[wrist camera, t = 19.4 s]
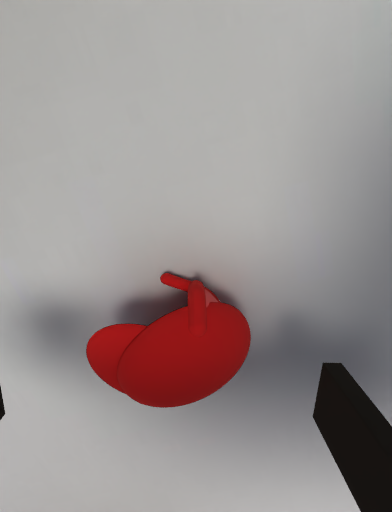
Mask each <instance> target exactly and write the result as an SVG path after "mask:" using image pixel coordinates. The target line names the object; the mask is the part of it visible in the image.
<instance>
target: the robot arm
mask: <svg viewBox="0 0 392 512" xmlns="http://www.w3.org/2000/svg"><path fill="white" fill-rule="evenodd" d="M4 415H5V410H4V404H3V399H2V393H1V387H0V420H1V419H2V417H3V416H4ZM313 418H314V420H315V422H316V424H317V426H318V428H319V430H320V432H321V434H322V436H323V438H324V440H325V442H326V444H327V446H328V448H329V450H330V452H331V454H332V456H333V458H334V460H335V462H336V464H337V466H338V467H339V469H340V471H341V473H342V475H343V477H344V479H345V481H346V483H347V485H348V487H349V489H350V491H351V493H352V495H353V497H354V499H355V501H356V503H357V505H358V507H359V509H360V511H361V512H392V426H391V425H390V424H389V422H388V421H387V420H386V419H385V417H384V416H383V415H382V414H381V412H380V411H379V410H378V409H377V407H376V406H375V405H374V404H373V402H372V401H371V400H370V399H369V397H368V396H367V395H366V394H365V392H364V391H363V390H362V389H361V387H360V386H359V385H358V384H357V382H356V381H355V380H354V378H353V377H352V376H351V375H350V373H349V372H348V371H347V370H346V368H345V367H344V366H343V365H342V363H323V365H322V370H321V376H320V381H319V386H318V392H317V397H316V402H315V408H314V413H313Z"/></svg>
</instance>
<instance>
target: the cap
mask: <svg viewBox="0 0 392 512" xmlns="http://www.w3.org/2000/svg"><path fill="white" fill-rule="evenodd" d="M160 280H161V282H162V283H163V284H166V285H168V286H171V287H174V288H177V289H180V290H183V291H186V292H188V306H186V307H182V308H180V309H177V310H175V311H172V312H170V313H168V314H166V315H164V316H163V317H161V318H159V319H157V320H156V321H154V322H153V323H151V324H150V325H149V326H145V325H139V324H116V325H111V326H108V327H105V328H102V329H100V330H99V331H97V332H96V333H95V334H93V335H92V337H91V338H90V339H89V341H88V344H87V349H86V353H87V358H88V361H89V364H90V365H91V367H92V369H93V370H94V371H95V373H96V374H97V375H98V376H99V377H100V378H101V379H102V380H103V381H105V382H106V383H107V384H109V385H110V386H112V387H113V388H115V389H117V390H118V391H120V392H122V393H125V394H127V395H128V396H129V397H131V398H132V399H133V400H135V401H137V402H139V403H140V404H144V405H148V406H153V407H176V406H182V405H186V404H190V403H193V402H195V401H198V400H200V399H203V398H205V397H207V396H209V395H210V394H212V393H214V392H215V391H217V390H218V389H220V388H221V387H222V386H224V385H225V384H226V383H227V382H228V381H229V380H230V379H231V378H232V377H233V376H234V375H235V374H236V373H237V371H238V370H239V369H240V367H241V366H242V364H243V362H244V360H245V358H246V356H247V354H248V351H249V347H250V340H251V334H250V328H249V325H248V322H247V320H246V318H245V317H244V315H243V314H242V313H241V312H240V311H239V310H238V309H237V308H235V307H233V306H231V305H229V304H226V303H221V302H220V301H219V299H218V298H217V297H216V296H215V294H214V293H213V292H211V291H210V290H209V289H208V288H206V287H204V285H203V283H202V282H200V281H198V280H194V281H189V280H186V279H183V278H180V277H177V276H174V275H172V274H169V273H164V274H163V275H162V276H161V278H160Z"/></svg>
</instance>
